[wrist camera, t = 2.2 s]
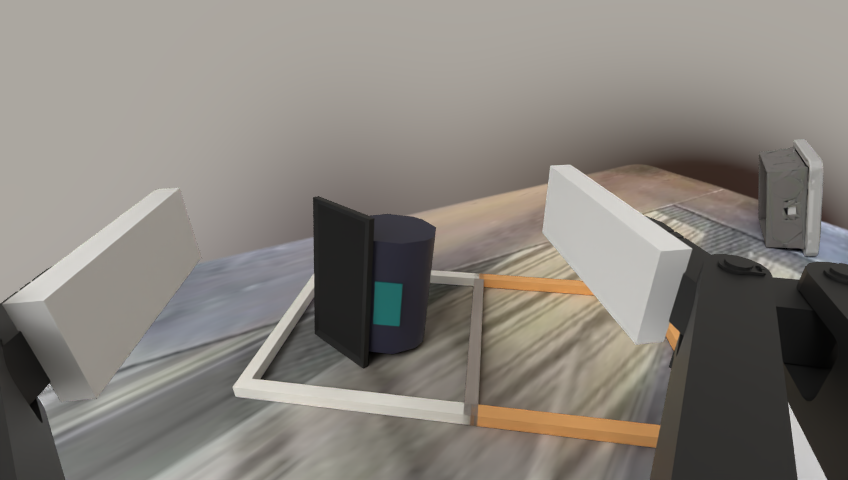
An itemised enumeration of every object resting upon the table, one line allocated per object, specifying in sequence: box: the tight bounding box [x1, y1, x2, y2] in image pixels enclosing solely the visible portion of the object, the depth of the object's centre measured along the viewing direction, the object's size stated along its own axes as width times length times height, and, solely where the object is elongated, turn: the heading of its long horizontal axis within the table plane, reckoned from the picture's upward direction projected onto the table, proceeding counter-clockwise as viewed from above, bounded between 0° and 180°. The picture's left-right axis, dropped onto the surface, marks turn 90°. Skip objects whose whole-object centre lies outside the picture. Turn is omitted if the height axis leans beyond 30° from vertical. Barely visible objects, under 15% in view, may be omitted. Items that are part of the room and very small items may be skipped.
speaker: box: [313, 196, 436, 368], centre depth 28 cm, size 8×6×10 cm
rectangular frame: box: [233, 270, 680, 448], centre depth 29 cm, size 28×15×1 cm, turn 81°
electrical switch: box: [759, 140, 823, 256], centre depth 41 cm, size 9×5×9 cm, turn 149°
